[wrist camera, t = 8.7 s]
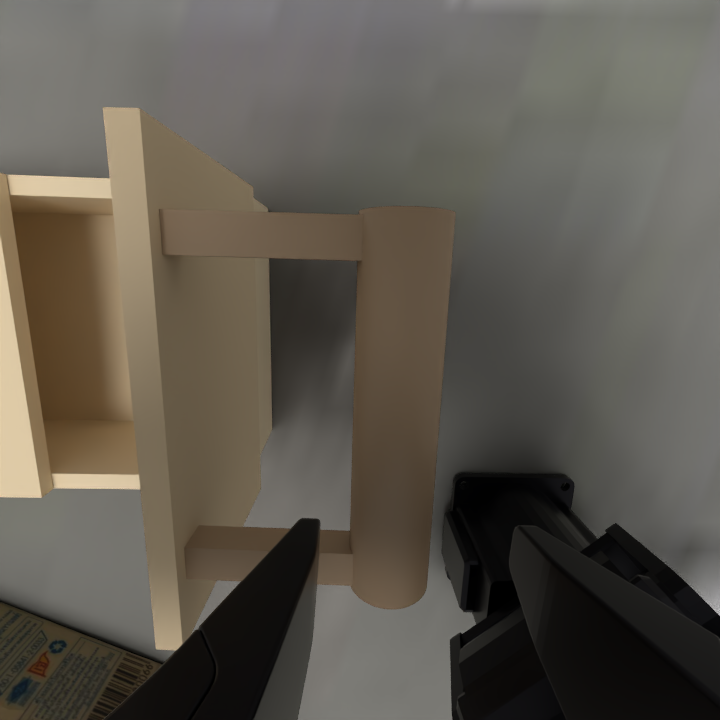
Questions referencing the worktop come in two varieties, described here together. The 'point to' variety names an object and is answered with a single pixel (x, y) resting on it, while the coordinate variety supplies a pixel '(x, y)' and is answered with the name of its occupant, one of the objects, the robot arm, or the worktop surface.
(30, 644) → the beverage carton
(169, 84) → the worktop surface
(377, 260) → the cabinet door with handle
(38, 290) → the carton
